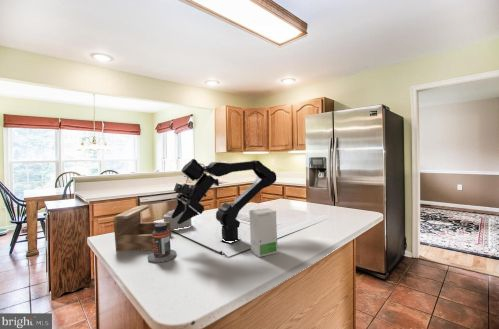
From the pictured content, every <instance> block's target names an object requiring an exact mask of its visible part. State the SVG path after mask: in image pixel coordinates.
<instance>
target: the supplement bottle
mask: <svg viewBox="0 0 499 329" xmlns="http://www.w3.org/2000/svg"><path fill="white" fill-rule="evenodd" d="M166 227H167V226H166V223H159V224H156V225H155V231H153V250H152V251H153V252H154V256H155V257H165V256H168V255H169V254H170V253H171V250H172V249H171V235H170V232H169V230H168V229H167V228H166Z"/></svg>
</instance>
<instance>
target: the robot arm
mask: <svg viewBox="0 0 499 329" xmlns="http://www.w3.org/2000/svg"><path fill="white" fill-rule="evenodd" d="M244 171H253V172H254V174H255V175H256V177H255V180H254V181H253V183H252V184H251V185H249V186H248V187H247V189H245V190H244V191H243V192H242V193H241V194H240V195H238V197H236V198H235V199H234V200H233V201H232V202H230V203H227V202H224V203H223V204H222V205H221V206H219V207H218V208H217V211H216V213H215V219H216V220H217V221H218V222H219V223H220V225H221V239H224V240H225V241H235V240H238V237H239V228H240V225H241V222H240V221H239V220H238V219H237V217H238V215H239V212H240V211H241V210H242V209H243V208H244V207H245V206H246V205H247V204H248V203H249V202H250V201H251V200H252V199H253V198H254V197H256V196H257V195H258V194H259V193H260V192H261V191H262V190H264V189H265V188H268V187H270V186H272V185H273V184H274V183H276V181H277V173H276V172H275V171H273V170H271V169H270V168H268V166H266V165H264V164H263V163H262V162H261V161H260V160H256V159H255V160H249V161H240V162H239V161H238V162H220V161H219V162H217V161H212V162H210V163H208V165H206V166H203V165H201V163H199V161H198V160H196V159H195V158H192V159H191V160H190V161H189V162H187V163H186V164H185V165H184V166H183V167H182V169H181V171H180V172H182V174H184V175H185V176H186V177H187V178H189V179H190V180H191V181H192V182H193V181H196V182H195V184H194V185H193V184H191V185H190V184H188V183H183V184H180V183H178V182H176V183H175V186H174V189H173V192H175V193H177V195H176V196H175V197H176V198H175V201H176V205H175V208H174V209H175V210H174V209H173V210H174V212H173V214H172V216H171V217H172V218H173V219H174V218H175V217H177V216H178V215H179V214H181V213H182V212H183V213H182V215H181V217H180V218H179V220H178V222H177V223H178V224H181V223H183V222H185V221H187V220H188V219H190V218H191V219H192V218H194V217H196V216H199V215H202V214H203V213H204V211H205V206H204V205H203V204H201V201H202V199H203V198H206V197H207V195H208V194H207V193H208V192H209V190H210V189H211V188H212V187H213V185H214V186H217V187H219V185H220V184H219V183H220V182H219V179H218V178H214V177H222V176H223V177H224V176H226V175H228V174H231V173H236V172H244ZM206 173H207V174H206ZM213 176H214V177H213ZM238 241H239V240H238Z"/></svg>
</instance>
